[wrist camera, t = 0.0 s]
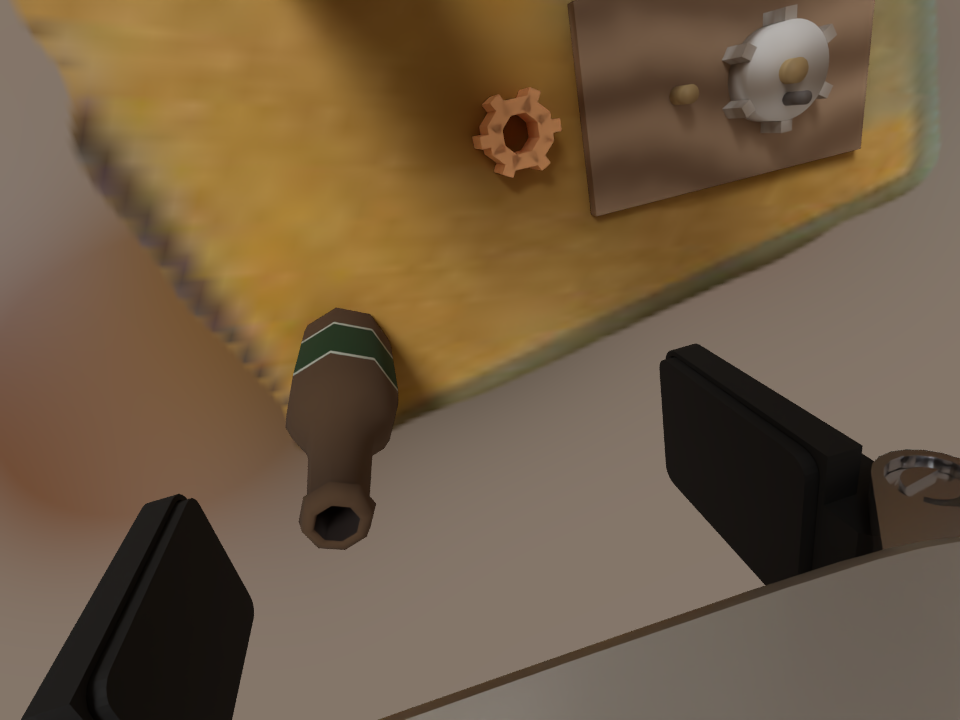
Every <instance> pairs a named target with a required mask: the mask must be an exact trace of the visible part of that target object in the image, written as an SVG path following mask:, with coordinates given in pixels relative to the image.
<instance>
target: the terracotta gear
mask: <svg viewBox="0 0 960 720" xmlns="http://www.w3.org/2000/svg"><path fill="white" fill-rule="evenodd" d="M540 93H541V91H538V90H536V89H533V88H531V87H529V88H525V89H521V90H519V92H518V95H517V98H513V99H509V100H503V99H502V98H501V96H500V95H499V94H498V95H494V96H490V97H489V98H488V99H487V100H486V101H485V102H484V103H483V104H482V106H483V108H484V109H485V110H486V112H488V113H487V114H486V116H485V118H484V119H483V121H482V123H481V125H480V126H479V129H480V135H477V136H473V137H472V138H473V143H474V149H482V150H484V154H485V155H486V156H488V157H489V158H490V159H492V160H493V161H495V162H496V166H495V169H494V172H496V173H499V174H502V175H505V176H508V177H512V178H513V177H514V174H515V171H516V170H520V169H524V168H528V167H530V168H531V169H536V170H541V171H543V170H544V169H545V168H546V167H547V166H548V165H549V164H550V163H551V162H550V161H549V160H548V158H547V157H546V156H545V155H546V153H547V152H548V150H549V148H550V147H551V145H552V144H553V142H554V136H553V133H554V132H559V131H562V129H561V122H560V118H556V119H551V113H550V111H549V110H547V109H546V108H545V107H543V106H542V105H541V104H540V103H538V102H537V101H538V99H539V96H540ZM512 115H517V116H519V117H520V118H521V119H523V120H524V121H525V122H526V124H527V130H528V137H529V138H528V139H527V141H526V143H525V144H524V146H523V147H522V149H521V150H520V151H516V152H513V151H511V150H510V149H509V148H507V147H506V146H505V142H504V136H503V128H504V126H505V125H506V123H507V121H508V120H509V118H510V116H512Z"/></svg>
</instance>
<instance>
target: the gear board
mask: <svg viewBox="0 0 960 720" xmlns="http://www.w3.org/2000/svg"><path fill="white" fill-rule="evenodd" d="M874 4H875V0H575V1H572V2H571V3H569V4H568V13H569V22H570V30H571V39H572V48H573V57H574V66H575V75H576V84H577V93H578V102H579V111H580V119H581V128H582V137H583V146H584V155H585V164H586V173H587V182H588V191H589V200H590V209H591V215H594V216H600V215H604V214H608V213H612V212H616V211H619V210H623V209H627V208H631V207H635V206H639V205H643V204H647V203H651V202H655V201H658V200H662V199H666V198H670V197H674V196H678V195H682V194H686V193H690V192H693V191H697V190H701V189H705V188H709V187H713V186H717V185H721V184H725V183H728V182H732V181H736V180H740V179H744V178H748V177H752V176H756V175H760V174H764V173H767V172H771V171H775V170H779V169H783V168H787V167H791V166H795V165H799V164H802V163H806V162H810V161H814V160H818V159H822V158H826V157H830V156H834V155H838V154H841V153H845V152H849V151H853V150H857V149H860V148H861V138H862V128H863V117H864V107H865V97H866V86H867V76H868V66H869V56H870V45H871V35H872V25H873V14H874Z"/></svg>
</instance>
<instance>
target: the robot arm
mask: <svg viewBox="0 0 960 720" xmlns="http://www.w3.org/2000/svg"><path fill="white" fill-rule="evenodd" d="M660 382H661V397H662V412H663V427H664V442H665V457H666V468H667V472H668V474H669V477H670V479H671V480H672V482H673V483H674V484H675V486H676V487H677V488H678V489H679V490H680V491H681V492H682V493H683V495H684V496H685V497H686V498H687V499H688V500H689V501H690V502H691V503H692V504H693V506H695V508H696V509H697V510H698V511H699V512H700V513H701V514H702V515H703V517H704V518H705V519H706V520H707V521H708V522H709V523H710V524H711V526H713V528H714V529H715V530H716V531H717V532H718V533H719V534H720V535H721V537H722V538H723V539H724V540H725V541H726V542H727V543H728V544H729V545H730V546H731V548H732V549H733V550H734V551H735V552H736V553H737V554H738V555H739V556H740V558H741V559H742V560H743V561H744V562H745V563H746V564H747V565H748V566H749V568H750V569H751V570H752V571H753V572H754V573H755V574H756V575H757V576H758V577H759V579H760V580H761V581H762V582H763V583H764V584H765V585H766V586H763V587H760V588H757V589H753V590H750V591H747V592H744V593H742V594H739V595H736V596H733V597H730V598H727V599H724V600H721V601H718V602H715V603H712V604H710V605H707V606H704V607H701V608H698V609H695V610H692V611H689V612H686V613H683V614H680V615H677V616H674V617H672V618H668V619H666V620H663V621H660V622H657V623H654V624H651V625H648V626H645V627H643V628H639V629H636V630H634V631H631V632H628V633H625V634H622V635H619V636H616V637H613V638H610V639H607V640H604V641H602V642H599V643H596V644H593V645H590V646H587V647H584V648H581V649H579V650H576V651H573V652H570V653H567V654H564V655H561V656H558V657H556V658H553V659H550V660H547V661H544V662H541V663H538V664H535V665H532V666H530V667H527V668H524V669H521V670H518V671H515V672H512V673H509V674H507V675H504V676H501V677H498V678H496V679H492V680H489V681H487V682H484V683H481V684H478V685H475V686H473V687H470V688H467V689H464V690H461V691H458V692H455V693H453V694H449V695H447V696H444V697H442V698H438V699H435V700H433V701H430V702H427V703H424V704H421V705H418V706H416V707H412V708H410V709H407V710H404V711H401V712H398V713H396V714H393V715H390V716H387V717H384V718H382V719H379V720H960V458H957V457H953V456H951V455H947V454H944V453H939V452H933V451H928V450H910V449H905V450H898V451H891V452H889V453H886V454H884V455H881V456H879V457H878V458H877V459H876V460H875V461H873V460H871V459H870V458H868V457H866V456H865V455H863V454H862V445H861V444H859V443H857V442H856V441H854V440H852V439H851V438H849V437H848V436H846V435H844V434H843V433H841V432H840V431H838V430H836V429H834V428H833V427H831V426H830V425H828V424H827V423H825V422H823V421H822V420H820V419H818V418H817V417H815V416H814V415H812V414H810V413H809V412H807V411H806V410H804V409H802V408H801V407H799V406H798V405H796V404H794V403H793V402H791V401H789V400H788V399H786V398H785V397H783V396H781V395H780V394H778V393H776V392H775V391H773V390H772V389H770V388H768V387H767V386H765V385H764V384H762V383H760V382H758V381H757V380H755V379H754V378H752V377H751V376H749V375H747V374H746V373H744V372H743V371H741V370H739V369H738V368H736V367H734V366H733V365H731V364H730V363H728V362H726V361H725V360H723V359H721V358H720V357H718V356H717V355H715V354H713V353H712V352H710V351H709V350H707V349H705V348H704V347H702V346H700V345H698V344H692V345H689V346H685V347H682V348H678V349H675V350H671V351H669V352H668V353H667V355H666V359H665V360H663V361H661V363H660ZM253 618H254V608H253V602H252V599H251V597H250V595H249V593H248V591H247V590H246V588H245V586H244V584H243V582H242V581H241V579H240V577H239V575H238V573H237V572H236V570H235V568H234V566H233V564H232V563H231V561H230V559H229V557H228V555H227V554H226V552H225V550H224V548H223V546H222V545H221V543H220V541H219V539H218V537H217V535H216V534H215V532H214V530H213V528H212V526H211V525H210V523H209V521H208V519H207V517H206V516H205V514H204V512H203V510H202V509H201V506H200V505H199V503H198V502H197V501H196V500H195V499H193V498H191V499H187V498H186V497H185V496H183V495H180V494H177V495H174V496H170V497H167V498H163V499H160V500H156V501H153V502H150V503H147V504H145V505H144V506H143V508H142V509H141V511H140V513H139V514H138V516H137V518H136V520H135V522H134V523H133V525H132V527H131V528H130V530H129V532H128V534H127V535H126V537H125V539H124V541H123V542H122V544H121V546H120V548H119V549H118V551H117V553H116V555H115V556H114V558H113V560H112V562H111V563H110V565H109V567H108V569H107V570H106V572H105V574H104V576H103V577H102V579H101V581H100V583H99V584H98V586H97V588H96V590H95V591H94V593H93V595H92V597H91V598H90V600H89V602H88V604H87V605H86V607H85V609H84V611H83V612H82V614H81V616H80V618H79V619H78V621H77V623H76V624H75V626H74V628H73V630H72V631H71V633H70V635H69V637H68V638H67V640H66V642H65V644H64V646H63V647H62V649H61V651H60V652H59V654H58V656H57V658H56V659H55V661H54V663H53V665H52V666H51V668H50V670H49V672H48V673H47V675H46V677H45V679H44V680H43V682H42V684H41V686H40V687H39V689H38V691H37V693H36V694H35V696H34V698H33V699H32V701H31V703H30V705H29V706H28V708H27V710H26V712H25V713H24V715H23V717H22V719H21V720H232V717H233V712H234V708H235V703H236V698H237V693H238V689H239V684H240V679H241V674H242V670H243V665H244V660H245V656H246V651H247V647H248V642H249V637H250V633H251V628H252V623H253Z"/></svg>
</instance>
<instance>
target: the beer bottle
mask: <svg viewBox="0 0 960 720" xmlns="http://www.w3.org/2000/svg"><path fill="white" fill-rule="evenodd" d="M397 406H398V387H397V381H396V375H395V369H394V362H393V356H392V350H391V346H390V342H389V340H388V338H387V337H386V336H385V334H384V333H383V331H382V330H381V329H380V327H379V326H378V324H377V323H376V322H375V320H374V319H373V317H372V316H371V315H370V314H366V313H361V312H356V311H351V310H345V309H340V308H335V309H333V310H332V311H330V312H328V313H327V314H325V315H324V316H322V317H320V318H319V319H317V320H316V321H314V322H312V323H311V324H309V325H308V326H307V328H306V330H305V332H304V336H303V340H302V343H301V347H300V351H299V355H298V359H297V362H296V366H295V370H294V374H293V379H292V385H291V391H290V397H289V403H288V409H287V416H286V429H287V431H288V432H289V434H290V436H291V438H292V439H293V440H294V441H295V442H296V443H297V444H298V445H299V446H300V448H301V449H302V450H303V451H304V452H305V453H306V454H307V456H308V480H307V495H306V496H304V497H303V502H302V507H301V512H300V518H299V524H300V527H301V530H302V532H303V533H304V534H305V535H306V536H307V537H308V538H309V539H310V540H311V541H312V542H313V543H314V544H315V545H316V546H317V547H318V548H325V549H340V550H345V549H347V548H349V547H350V546H352V545H354V544H355V543H357V542H358V541H360V540H362V539H364V538H365V537H367V534H368V532H369V529H370V526H371V522H372V518H373V514H374V510H375V506H376V503H375V502H374V501H373V500H372V498H371V497H370V481H371V466H372V456H373V455H374V454H376V453H377V452H379V451H381V450H382V449H384V448H385V446H386V445H387V443H388V442H389V439H390V436H391V431H392V427H393V423H394V419H395V415H396V411H397Z"/></svg>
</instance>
